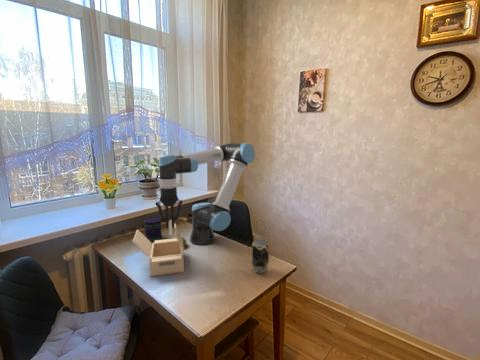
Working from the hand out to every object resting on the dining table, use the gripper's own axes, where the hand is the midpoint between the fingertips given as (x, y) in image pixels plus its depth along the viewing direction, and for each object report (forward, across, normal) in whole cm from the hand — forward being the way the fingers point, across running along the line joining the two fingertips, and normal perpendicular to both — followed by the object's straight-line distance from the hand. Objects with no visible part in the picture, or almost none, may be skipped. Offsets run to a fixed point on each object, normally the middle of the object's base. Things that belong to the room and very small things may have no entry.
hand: (170, 233), depth 122 cm
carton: (+16, +2, 0) cm, 16 cm away
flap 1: (+7, +10, 0) cm, 12 cm away
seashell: (+16, -2, -17) cm, 23 cm away
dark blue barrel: (+17, +11, -31) cm, 37 cm away
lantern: (+17, -41, +16) cm, 47 cm away
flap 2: (+7, -6, 0) cm, 9 cm away
